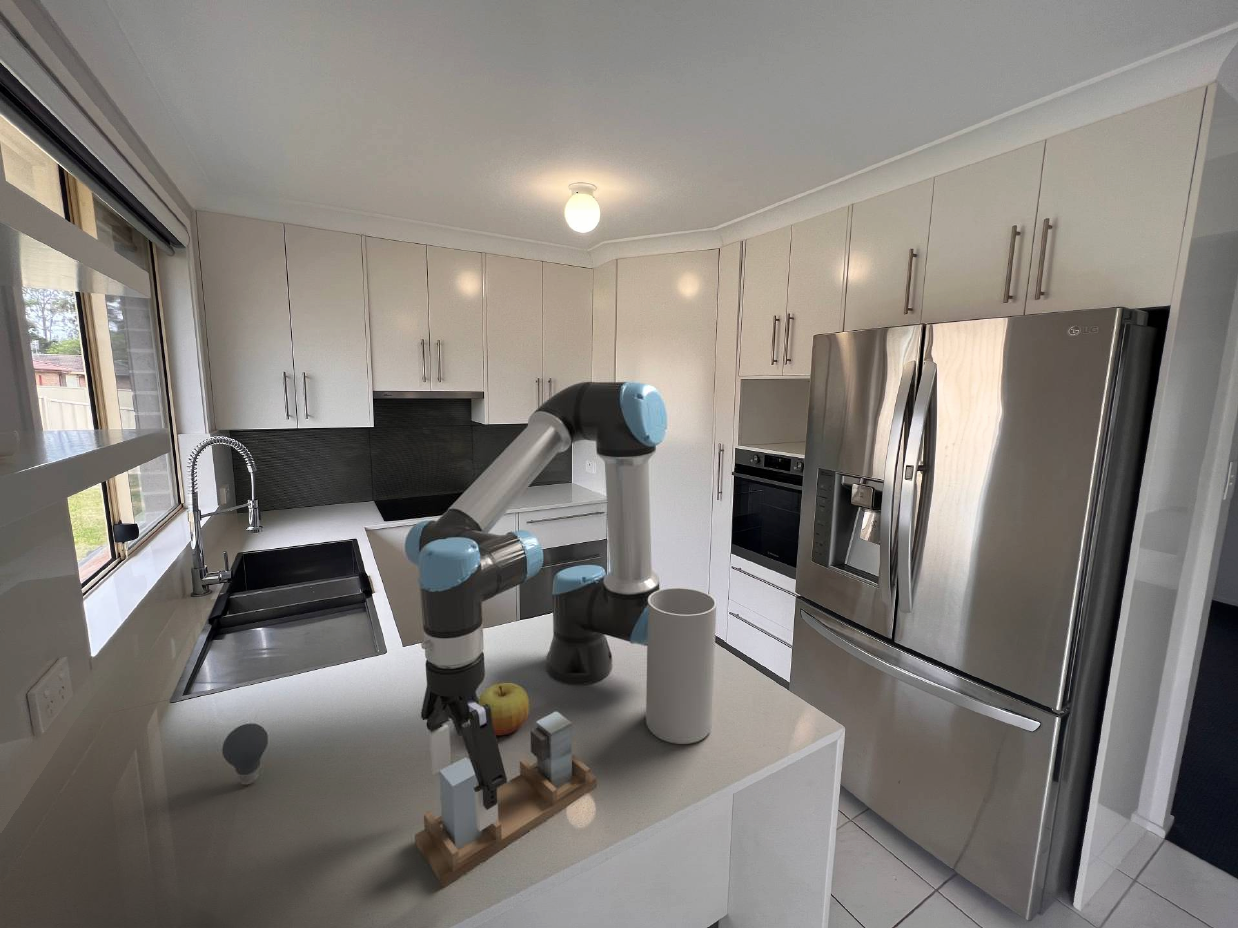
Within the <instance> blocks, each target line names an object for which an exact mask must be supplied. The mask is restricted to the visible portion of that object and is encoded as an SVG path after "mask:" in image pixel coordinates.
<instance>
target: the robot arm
mask: <svg viewBox="0 0 1238 928" xmlns="http://www.w3.org/2000/svg"><path fill="white" fill-rule="evenodd" d="M667 428H668V414H667V408H666V404H665V401H664V399H663V397H662V395H661V394H660V392H659V391H658V389H657V388H655V387H654V386H653V385H651V384H648V383H643V382H634V381H609V382H608V381H604V382H603V381H599V382H598V381H581V382H578V383H575V384H572V385H570V386H567V387H565V388H563V389H561V390H560V391H558V392H557V393H555V394H554V395H552V396H551V397H550V398H548V399H547V400H546V401H544V402H543V403H542V404H541V405H539V407H538V408H537V409H536V410H534V412H532V414H531V415H530V416H529V417H528V421H527V427H526V428H524V429H523V431H522V432H521V433H520V434H518V435H517V437H516V438H515V439H514V440H513V441H512V442H511V443H510V444H509V445H508V446H507V447H506V448H505V449H504V450H503V452H501V454H500V455H498V456H497V458H495V460H494V461H493V462H492V463H491V464H490V465H489V466H488V467H487V468H486V469H485V470H484V471H483V472H482V474H481V475H479V476H478V478H477V479H475V481H473V483H472V484H471V485H470V486H469V487H468V488H467V489H466V490H465V491H464V492H463V493H462V494H461V495H460V496H459V497H458V499H456V501H455V502H453V504H452V505H451V506H450V507H448V509H447V510H446V511H445V512H444V513H443V514H442V515H441V516H440V517H439V518H438V519H437V520H433V519H432V520H431V519H430V520H423V521H420V522H417V523H416V524H415V525H413V526H412V527H411V528H410V530H409V531H408V533H407V534H406V537H405V541H404V552H405V555H406V557H407V558H408V560H409V562H411V563H412V564H414V565H415V566H418V578H417V580H418V585H419V586H418V587H419V593H420V606H421V617H422V626H423V627H422V628H423V639H424V640H423V641H422V642H421V643H420V645H421V648H422V649H423V650H424V655H425V658H426V660H425V665H424V666H425V674H426V675H425V676H426V688H425V694H424V697H423V703H422V706H421V707H422V708H421V712H420V717H421V719H422V721H426V729H427V730H428V731H429V732H428V734H429V736H428V737H429V749H430V752H429V753H430V762H431V763H430V764H431V765H430V766H431V772H432V774H433V775H437V773H440V770H442V769H443V768H445V767H447V766H449V765H451V764H452V758H451V757H452V756H451V754H452V753H451V739H450V738H451V737H450V727H449V726H450V725H448V724H446V723H448V722H450V720H451V721H452V723H453V726H454V729H455V731H456V735H457V736H458V737H461V739H462V740H463V743H464V747H465V750H466V751H467V755H468V759H469V761H470V762H471V764H472V766H473V769H474V772H475V775H476V778H477V781H478V782H477V783H475V787H474V790H475V800H476V818H477V828H478V830H479V831H481V830H483V829H485V828H486V827H488V826H489V825H491V824H492V823H494V822H496V821H497V820H498V802H497V788H498V787H500V786H501V785H503V784H505V783H506V782H508V779H507V774H506V771H505V767H504V763H503V759H502V755H501V751H500V747H499V743H498V740H497V735H495V732H494V728H493V724H492V717H491V709H490V706H489V705H488V704H486V705H484V706H482V707H481V706H480V705H478V704H479V700H478V699H479V697H478V695H477V693H476V692H477V690H478V688H479V687H480V685H481V684H482V683H483V681H484V680H485V676H486V669H485V668H486V667H485V653H484V648H485V645H484V640H485V639H484V625H483V624H484V622H483V621H484V620H483V603H485V602H486V601H488V600H489V599H492V598H494V597H496V596H498V595H500V594H502V593H504V592H506V591H508V590H511V589H513V588H515V587H517V586H519V585H522V584H524V583H526V582H527V580H529V579H531V578H532V577H534V576H536V575H537V574H538V573H539V572H540V570H541V569H542V567H543V564H544V551H543V548H542V544H541V542H540V541H539V540H538V538H537V537H536V536H535V534H533V533H531V532H530V531H528V530H524V529H523V530H522V529H520V530H516V531H509V532H507V533H506V534H503V535H501V534H494V533H490V531H491V530H492V529H493V528H494V527H495V525H496V524H498V522H499V521H500V520H501V519H502V518H503V516H504V515H505V514H506V513H507V512H508V510H509V509H510V508H512V506H513V505H514V503H515V502H516V501H517V500H518V499H519V498H520V497H521V496H522V494H524V493H525V492H524V491H526V490H527V489H528V487H530V485H531V484H532V483H533V482H534V480H536V478H537V477H538V476H539V475H540V474H541V472H542V471H543V470H544V469H545V468H546V466H547V465H548V464H549V463H550V462H551V461H552V459H553V458H555V456H556V455H557V454H558V453H562V452H565V451H567V450H569V448H570V447H571V446H572V445H573V444H574V443H576V442H579V441H592V442H595V448H596V455H597V456H598V457H599V458H601V459H602V460H603V462H604V472H605V473H604V476H605V489H606V491H605V492H606V493H605V494H606V510H607V511H606V512H607V528H608V530H607V531H608V533H607V534H608V535H607V536H608V550H609V551H608V552H609V572H608V573H607V572H606V570H605V568H603V567H602V566H601V565H597V564H596V565H595V564H582V565H576V566H571V567H567V568H565V569H562V570H561V571H558V572H557V573H556V574H555V575H554V577H553V579H552V581H553V583H552V591H551V594H552V625H553V626H552V627H553V628H552V629H553V630H552V631H553V632H552V633H553V635H552V639H551V642H550V646H549V650H548V652H547V655H546V658H545V670H546V671H545V672H546V673H547V675H548V676H549V677H550V678H552V679H553V680H555V681H556V682H559V683H563V684H566V685H574V686H575V685H588V684H592V683H595V682H598V681H601V680H603V679H604V678H606V677H607V676H609V675H610V673H611V671H612V670H613V654H612V652H611V649H610V645H609V643H608V640H607V637H612V638H615V639H618V640H622V641H625V642H629V643H630V644H632V645H633V644H636V645H641V646H644V647H645V646H646V647H647V629H648V598H649V596H650V595H651V594H652V593H654V592H656V591H658V590H661V589H660V578H659V577H660V576H659V575H658V574H657V573H656V572H654V571H653V569H652V537H651V532H652V531H651V507H650V505H651V503H650V502H651V501H650V500H651V499H650V498H651V497H650V472H649V471H650V470H649V466H650V465H649V460H650V458H651V457H652V456H653V455H654V454H655V453H656V452H657V451H656V450H657V447H656V446H658V445H660V444H661V443H662V442H663V439H664V438H665V435H666V430H667ZM467 723H468V725H467V726H463V725H465V724H467ZM444 724H445V725H444Z"/></svg>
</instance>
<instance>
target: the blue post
mask: <svg viewBox="0 0 1238 928" xmlns="http://www.w3.org/2000/svg"><path fill="white" fill-rule="evenodd" d="M477 782H478V781H477V778H476V775H475V772H474V769H473V766H472V764H471V761H470V759H469V758H468V757H465V756H464V757H463V758H461V759H459V760H458V761H456V762H454V763H451V765H449V766H447V767H445V768H443V769H442V770H440V772H439V789H440V790H439V791H440V805H441V806H440V809H441V810H440V811H441V816H442V829H443V831H444V832H445V833H446V835H447V836H448V837H449V839H450V840H451V841H452V843H453V844H454V846H455V847H456V848H457V850H460V849H461V848H463V847H464V846H466V845H468V844H469V843H471V842H472V841H474V840H476V839H477V838H479V837H480V836H482V830H481V831H479V830H478V828H477V818H476V800H475V790H474V787H475V783H477Z"/></svg>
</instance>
